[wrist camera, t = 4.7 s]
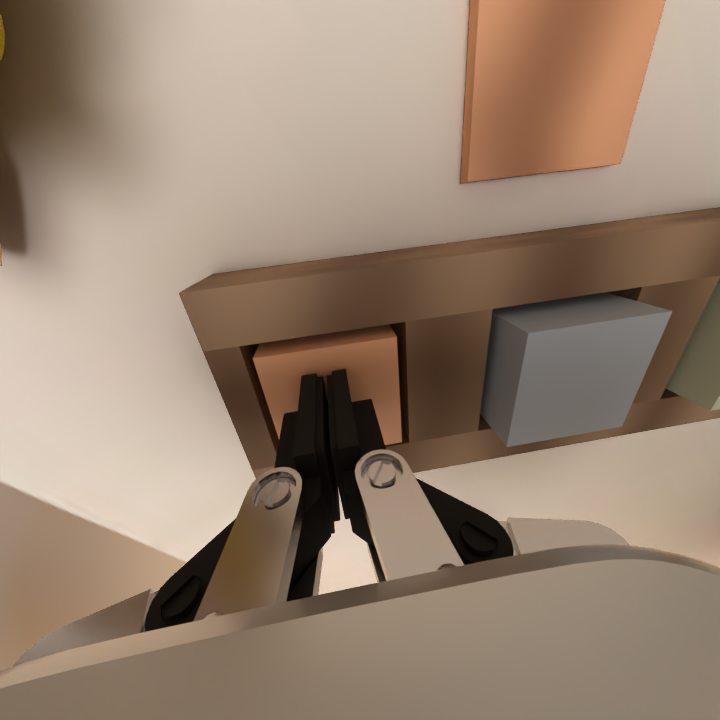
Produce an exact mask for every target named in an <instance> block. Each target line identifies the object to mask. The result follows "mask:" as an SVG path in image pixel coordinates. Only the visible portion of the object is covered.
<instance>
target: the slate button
mask: <svg viewBox="0 0 720 720" xmlns="http://www.w3.org/2000/svg"><path fill="white" fill-rule="evenodd" d="M671 314H672V311H671V310H667V309H663V308H660V307H656V306H653V305H649V304H645V303H642V302H638V301H635V300H631V299H627V298H624V297H620V296H616V295H613V294H609V293H606V292H604V293H597V294H591V295H584V296H577V297H570V298H563V299H557V300H550V301H543V302H536V303H529V304H523V305H516V306H509V307H502V308H496V309H493V310H492V319H491V327H490V335H489V343H488V352H487V360H486V368H485V376H484V385H483V393H482V401H481V409H480V414H481V416H482V417H483V418H484V419H485V421H486V422H487V423H488V424H489V426H490V427H491V428H492V429H493V431H494V432H495V433H496V434H497V436H498V437H499V438H500V439H501V441H502V442H503V443H504V444H505V446H506V447H510V446H516V445H522V444H527V443H533V442H538V441H544V440H550V439H555V438H561V437H567V436H572V435H578V434H583V433H589V432H595V431H600V430H606V429H611V428H617V427H622V426H623V423H624V421H625V419H626V416H627V414H628V412H629V410H630V407H631V405H632V403H633V400H634V398H635V396H636V394H637V391H638V389H639V387H640V384H641V382H642V380H643V378H644V375H645V373H646V371H647V368H648V366H649V364H650V362H651V359H652V357H653V355H654V352H655V350H656V348H657V346H658V343H659V341H660V339H661V336H662V334H663V332H664V330H665V327H666V325H667V323H668V320H669V318H670V316H671Z"/></svg>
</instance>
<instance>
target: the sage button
mask: <svg viewBox="0 0 720 720" xmlns="http://www.w3.org/2000/svg"><path fill="white" fill-rule="evenodd" d="M666 389H668V390H670V391H672V392H674V393H676V394H678V395H680V396H682V397H684V398H686V399H688V400H690V401H692V402H694V403H696V404H698V405H700V406H702V407H703V408H705V409H707V410H709V411H713V410H718V409H720V278H719V280H718V282H717V284H716V286H715V288H714V290H713V293H712V295H711V297H710V299H709V301H708V303H707V305H706V307H705V309H704V311H703V313H702V315H701V317H700V319H699V321H698V323H697V325H696V327H695V329H694V331H693V333H692V335H691V337H690V339H689V341H688V343H687V345H686V347H685V349H684V351H683V354H682V356H681V358H680V360H679V362H678V364H677V366H676V368H675V370H674V372H673V374H672V376H671V378H670V380H669V382H668V384H667V386H666Z"/></svg>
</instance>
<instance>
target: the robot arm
mask: <svg viewBox="0 0 720 720" xmlns="http://www.w3.org/2000/svg"><path fill="white" fill-rule="evenodd" d="M327 393H328V400H327V395H326V390H325V385H324V380H323V376H320V377H317V374H316V373H315V374H308V375H302V376H301V384H300V394H299V403H298V411H294V412H288V413H285V414H284V416H283V421H282V426H281V432H280V438H279V444H278V449H277V455H276V461H275V466H274V469H271V470H269V471H267V472H265V473H263V474H262V475H260V476H259V477H258V478H257V479H256V480H255V481H254V482H253V483H252V484H251V486H250V488H249V490H248V491H247V494H246V496H245V499H244V501H243V503H242V506H241V508H240V511H239V513H238V515H237V518H236V519H235V520H234V521H233V522H232V523H230V524H229V525H228V526H227V527H226V528H225V529H224V530H223V531H222V532H220V533H219V534H218V535H217V536H216V537H215V538H214V539H213V540H212V541H210V542H209V543H208V544H207V545H206V546H205V547H204V548H203V549H202V550H200V551H199V552H198V553H197V554H196V555H195V556H194V557H193V558H192V559H190V560H189V561H188V562H187V563H186V564H185V565H184V566H183V567H182V568H181V569H179V570H178V571H177V572H176V573H175V574H174V575H173V576H172V577H171V578H170V579H169V580H168V581H167V582H166V583H165V584H164V585H163V586H162V587H161V588H160V590H159V591H157V592H153V591H152V590H151V589H149V590H147V591H145V592H142V593H140V594H138V595H135V596H133V597H131V598H129V599H126V600H124V601H121V602H119V603H117V604H115V605H112V606H110V607H107V608H106V609H103V610H100V611H98V612H96V613H93V614H91V615H89V616H86V617H84V618H82V619H80V620H77V621H75V622H72V623H70V624H68V625H66V626H63V627H61V628H59V629H56V630H55V631H53V632H51V633H49V634H48V635H46V636H44V637H42V638H41V639H40V640H39V641H38V642H36V643H35V644H34V645H33V646H32V647H30V648H29V649H28V650H27V651H26V652H25V653H24V654H23V655H22V656H21V657H20V659H19V660H18V661H17V662H16V663H15V664H14V665H13V666H12V667H10V668H7V669H5V670H2V671H0V720H720V568H718V567H716V566H714V565H711V564H708V563H705V562H702V561H699V560H696V559H693V558H689V557H686V556H682V555H678V554H674V553H670V552H665V551H661V550H657V549H652V548H645V547H637V546H630V545H629V544H628V543H627V542H626V541H625V539H624V538H622V537H621V536H620V535H618V534H617V533H616V532H614V531H613V530H611V529H609V528H607V527H605V526H603V525H601V524H599V523H594V522H589V521H575V520H552V519H528V518H508V519H507V522H502V521H497V520H495V519H494V518H492V517H491V516H489V515H488V514H486V513H484V512H482V511H480V510H478V509H476V508H474V507H472V506H470V505H468V504H466V503H464V502H462V501H460V500H458V499H456V498H454V497H452V496H450V495H448V494H446V493H444V492H442V491H440V490H438V489H436V488H434V487H432V486H430V485H429V484H427V483H425V482H423V481H421V480H419V479H417V478H415V476H414V474H413V473H412V471H411V469H410V467H409V465H408V464H407V462H406V461H405V459H404V458H403V457H402V456H401V455H399V454H398V453H396V452H393V451H390V450H386V447H385V444H384V440H383V437H382V433H381V430H380V426H379V423H378V419H377V416H376V412H375V409H374V405H373V402H372V399H367V400H361V401H355V402H352V401H351V395H350V390H349V384H348V378H347V372H346V369H340V370H334V371H332V375H327ZM338 488H339V493H340V497H341V502H342V507H343V511H344V516H345V519H349V518H350V521H351V526H352V531H353V533H355V534H356V535H357V536H359V537H360V538H362V539H363V540H364V541H366V542H367V548H368V551H369V555H370V558H371V561H372V565H373V568H374V572H375V575H376V578H377V582H378V583H374V584H369V585H365V586H360V587H355V588H350V589H345V590H341V591H336V592H331V593H326V594H321V595H318V592H319V584H320V575H321V567H322V559H323V548H322V547H323V546H324V545H325V543H326V542H327V541H328V540H329V538H330V537H331V534H332V533H335V529H334V521H339V520H340V508H339V493H338Z"/></svg>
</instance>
